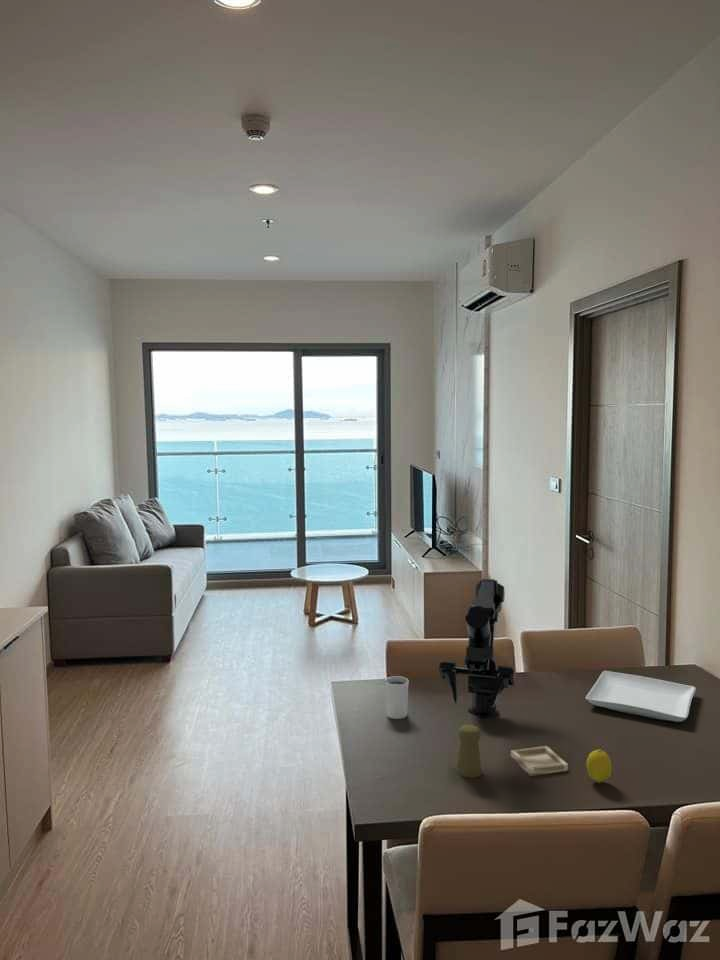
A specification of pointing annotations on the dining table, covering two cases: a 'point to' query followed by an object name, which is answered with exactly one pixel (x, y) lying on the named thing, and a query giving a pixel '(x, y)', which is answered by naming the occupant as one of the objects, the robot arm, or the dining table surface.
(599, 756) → the lemon
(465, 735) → the olive green cylinder
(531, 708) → the dining table surface
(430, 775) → the dining table surface
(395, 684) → the drinking glass
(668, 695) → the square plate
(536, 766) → the holder
